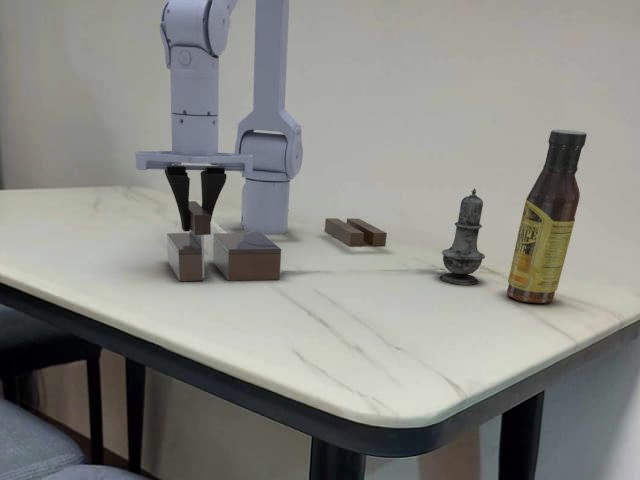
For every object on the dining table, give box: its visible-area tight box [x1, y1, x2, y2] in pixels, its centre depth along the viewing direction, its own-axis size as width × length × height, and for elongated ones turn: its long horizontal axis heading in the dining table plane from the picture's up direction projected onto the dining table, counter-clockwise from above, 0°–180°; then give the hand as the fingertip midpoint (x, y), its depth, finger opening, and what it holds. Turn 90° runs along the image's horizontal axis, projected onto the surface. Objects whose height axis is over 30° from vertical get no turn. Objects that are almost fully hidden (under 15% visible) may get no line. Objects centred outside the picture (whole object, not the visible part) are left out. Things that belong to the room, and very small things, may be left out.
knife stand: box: [324, 217, 388, 248], centre depth 118 cm, size 12×6×3 cm, turn 16°
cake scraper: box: [188, 200, 212, 279], centre depth 96 cm, size 10×2×8 cm, turn 16°
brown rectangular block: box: [166, 232, 204, 282], centre depth 97 cm, size 10×3×4 cm, turn 16°
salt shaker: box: [439, 188, 486, 286], centre depth 99 cm, size 6×6×12 cm
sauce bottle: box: [506, 128, 588, 304], centre depth 90 cm, size 6×6×20 cm
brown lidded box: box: [212, 232, 282, 282], centre depth 99 cm, size 10×7×4 cm
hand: (195, 230), depth 96 cm, fingers closed on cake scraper, 2 cm apart
